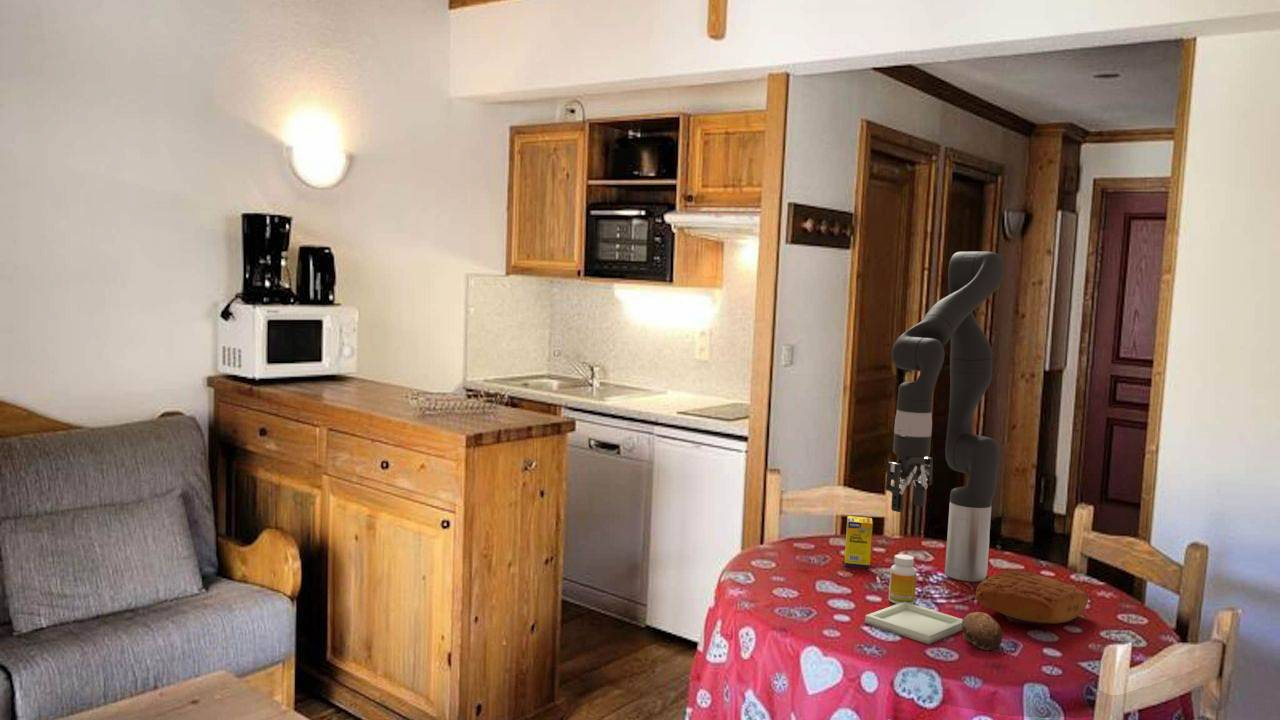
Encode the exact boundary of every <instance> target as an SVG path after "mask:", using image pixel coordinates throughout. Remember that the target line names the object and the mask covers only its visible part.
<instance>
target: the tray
mask: <svg viewBox="0 0 1280 720" xmlns="http://www.w3.org/2000/svg"><path fill="white" fill-rule="evenodd" d="M963 619H964V618H960V617H956V616H953V615H951V614H946V613H943V612H941V611H937V610H934V609H930V608H926V607H923V606H920V605H916V604H915V603H913V604H911V603H907V602H901V603H899V604H893V605H891V606H888V607H885V608H883V609H879V610H877V611H874V612H871V613H869V614H865V619H864V622H865V624H867V625H870V626H872V627H875V628H878V627H879V629H881V628H882V629H881V630H885V631H888V632H890V633H893V634H895V635H899V636H901V637H902V636H903V637H905V638H908V639H911V640H914V641H917V642H921V643H924V644H927V645H931V644H932V643H935V642H937V641H940V640H942V639H945V638H947V637H950V636H952V635H954V634H957V633H959V632H961V631H963V629H962V620H963Z"/></svg>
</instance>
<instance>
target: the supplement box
mask: <svg viewBox="0 0 1280 720" xmlns="http://www.w3.org/2000/svg"><path fill="white" fill-rule="evenodd" d="M873 526H874V522H873V518H872V517H865V516H864V517H863V516H853V515H848V516H847V517H846V533H845V534H846V535H845V550H844V566H845V567H852V568H853V567H854V568H861V569H862V568H863V569H870V568H871V567H870V566H871V552H872V539H873Z"/></svg>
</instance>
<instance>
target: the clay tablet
mask: <svg viewBox="0 0 1280 720" xmlns="http://www.w3.org/2000/svg"><path fill="white" fill-rule="evenodd" d="M975 600H976V601H977V602H978V603H980V604H981V605H983V606H985V607H987V608H989V609H992V610H993V611H994V612H995V611H996V612H998V613H1000V614H1003V615H1004V616H1007V617H1009V618H1014V619H1016V620H1022V621H1027V622H1032V623H1040V624H1061V623H1068V622H1070V621H1072V620H1074V619H1076V618H1077V617H1079V616H1080V615H1081V614H1082V612H1084V610H1086V609H1085V608H1087V605H1088V602H1089V597H1088V594H1087V592H1085V591H1083V590H1082V589H1079V588H1078V587H1076V586H1074V585H1069V584H1066V583H1065V582H1062V581H1059V580H1057V579H1054V578H1051V577H1048V576H1043V575H1040V574H1036V573H1033V572H1029V571H1028V572H1026V571H1021V570H1018V569H1017V570H1010V571H1004V572H1003V571H1002V572H1000V573H997V574H994V575H991V576H988V578H986V579H985V580H983V581H980V583H979V585H978V586H977V587H976V590H975Z"/></svg>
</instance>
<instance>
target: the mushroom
mask: <svg viewBox="0 0 1280 720" xmlns="http://www.w3.org/2000/svg"><path fill="white" fill-rule="evenodd" d="M962 619H963V620H962V629H963V630H962V631H963V632H962V638H963V639H964V640H965V641H967V642H968V643H970V644H973V645H974V646H975V647H977V648H979V649H980V650H984V651H991V650H995V649H996V648H997V647H999V646H1000V645H1001V644H1002V642H1003V635H1004V634H1003V631H1002V628H1001V626H1000V624H999V623H998V622H997V620H996V619H995V618H993V616H991V615H989V614H988V613H986V612H980V611H975V612H970V613H968V614H966V615H965V616H964V618H962Z"/></svg>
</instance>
